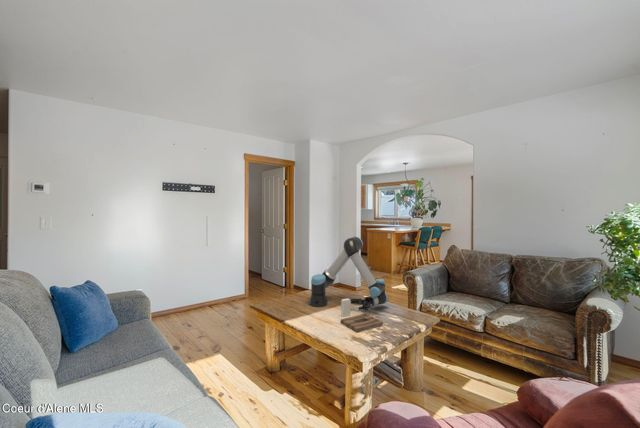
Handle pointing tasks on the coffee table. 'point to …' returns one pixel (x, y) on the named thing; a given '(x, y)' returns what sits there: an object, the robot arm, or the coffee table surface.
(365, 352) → the coffee table surface
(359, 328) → the brown slotted base plate
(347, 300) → the tall cream pillar
